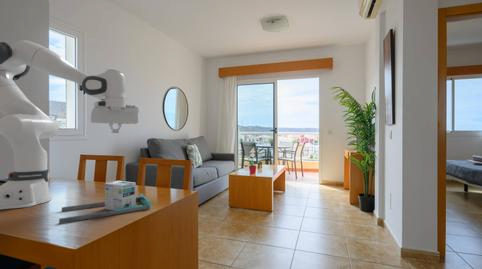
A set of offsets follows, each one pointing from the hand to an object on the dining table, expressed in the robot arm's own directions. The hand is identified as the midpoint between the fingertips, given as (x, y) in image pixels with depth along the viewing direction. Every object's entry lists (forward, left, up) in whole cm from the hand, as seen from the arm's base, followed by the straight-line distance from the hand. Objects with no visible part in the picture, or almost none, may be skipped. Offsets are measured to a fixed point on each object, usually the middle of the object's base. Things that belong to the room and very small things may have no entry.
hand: (115, 133), depth 115 cm
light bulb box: (0, -19, -31) cm, 37 cm away
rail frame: (-4, -19, -31) cm, 37 cm away
